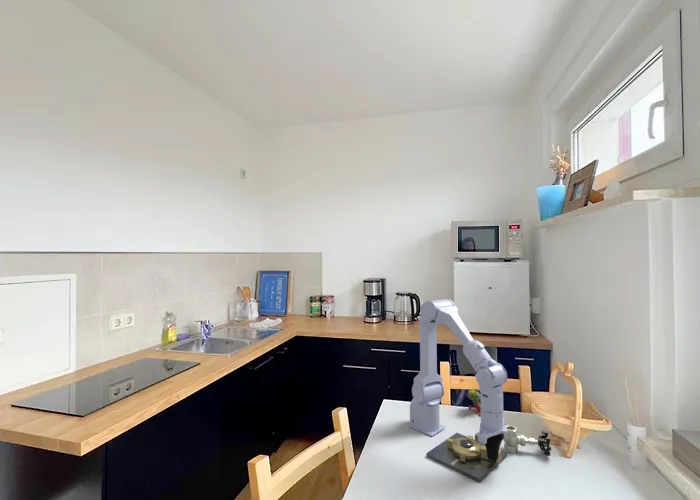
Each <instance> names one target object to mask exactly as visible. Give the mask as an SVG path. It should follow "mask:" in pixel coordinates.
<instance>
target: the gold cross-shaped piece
mask: <svg viewBox="0 0 700 500" xmlns="http://www.w3.org/2000/svg"><path fill="white" fill-rule="evenodd" d="M447 439H448V440H447ZM447 439H446V440H447V448H449V449H452V451H453V453H454V454H455V455H456V456H458V457H460V461H463V462H465V461H466V460H476V459H479V458H480V457H481V458H484V459H487V460H489V459H488V457H487V451H486V446H483V445H482V447H481V445H480V444H479V443H478V442H477V441H475V439H474V436H473V435H467V438H457V439H454V440H453V439H450V437H448V438H447ZM473 439H474V440H473ZM491 461H492V460H491ZM496 462H498V463H500V462H501V449H499V452H498V459H497V461H496ZM501 463H502V462H501ZM501 463H500V464H501Z"/></svg>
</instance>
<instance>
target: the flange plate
mask: <svg viewBox="0 0 700 500" xmlns="http://www.w3.org/2000/svg"><path fill="white" fill-rule="evenodd" d="M478 433H479V431H478V432H476V433H475V434H474V438H473V440H475V441H477V442H478ZM467 437H468V435H467V436H466V435H465V434H464V435H463V434H461V433H458V432H455V433H454V434H453V435H451V436H449V438H450V439H453V440H454V439H457V438H467ZM447 440H448V438H447V439H445V440H444V441H442V442H440V443H439V444H438V445H436V446H435V447H433V448H432V449H431V450H429V451H428V452H426V454H425V455H426V458H428V459H430V460H432V461H434V462H436V463H438V464H440V465H442V466H444V467H447V468H449V469H450V470H452V471H454V472H456V473H459V474H461V475H463V476H465V477H467V478H469V479H471V480H473V481H474V482H477V483H479V484H480V483H482V481H484V479H485V478H487V476H488V475H489V474H491V473H492V471H494V470H495V469H496V468H497V467H498V466H499V465H500V464H501V463H502V462H503V461H504V460H506V458H507V457H508V452H507V451H504V450H501V449H500V450H501V462H500V463H498V462H494V461H491V460H487V459H484V458H481V457H480V458H479V459H476V460H466V461H465V462H463V461H460V457H458V456H456V455H455V454H454V453H453V451H452V449H449V448H447ZM478 443H479V444H480V445H481V447H482V445H483V446H485V444H483V443H480V442H478Z"/></svg>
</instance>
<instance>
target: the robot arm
mask: <svg viewBox="0 0 700 500" xmlns="http://www.w3.org/2000/svg"><path fill="white" fill-rule="evenodd" d="M440 324H441V325H445V326H447V327H448V328H449V329H450V330H451V332H452V334H453V335H455V337H456V338H457V339H458V341H459V343H461V345H462V346H463V347H462V353H463V354H464V356H465V357H466V359H467V360H468V362H469V364H471V367H472V368H473V369H474V371H475V372H476V373H475V374H474V375H475V380H476V382H477V384H478V391H479V393H480V394H481V410H480V415H481V416H480V423H479V431H478V432H479V433H478V442H480V443H483V444H485V446H486V451H487V457H488V459H489V460H492V461H494V462H496V461H497V459H498V452H499V450H500V447H501V444H502V442H503V441H504V440H503V438H504V434H507V433H508V429H507V428H504V427H505V426H506V417H504V384H505V383H507V381H508V372H507V370H506V368H505V367H504V366H503V365H502V363H499V362H497V361H496V360H494V359H493V358H492V357H491V355H490V354H489V353H488V351H487V349H485V346H484V344H483V343H481V341H479V340H476V339H473V337H472V335H471V334H470V332H469V330H468V328H467V327H466V325H465V323H464V322H463V320H462V318H461V317H460V315H459V308H458V307H457V306H456V304H455V302H454V301H453V300H452V299H450V298H445V299H436V300H426V301H424V302H423V303H422V304H421V305H420V317H419V360H420V361H419V363H420V365H419V366H420V367H419V369H420V371H419V373H418V374H416V376H415V377H414V378H413V384H412V387H411V393H412V397H413V398H412V400H411V402H410V405H409V424H408V427H410V428H412V429H414V430H416V431H418V432H421V433H423V434H425V435H427V436H430V437H433V436H435V435H436V434H438V433H439V432H441V431H443V430H445V429H446V426H444V425H442V424H440V403H441V401H442V398H443V397H444V396H445V387H444V383H443V377H442V376H440V375H439V374H438V365H437V364H438V362H437V361H438V356H437V351H438V350H437V348H438V347H437V342H438V341H437V338H438V337H437V327H438V326H439V325H440Z"/></svg>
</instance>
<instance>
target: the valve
mask: <svg viewBox="0 0 700 500" xmlns="http://www.w3.org/2000/svg"><path fill="white" fill-rule="evenodd" d="M504 428H507V429H508V433H507V434H504V433H503V434H504V438H503V440H502V441H503V442H504V443H503V448H504V450H505V452H507V453H510V454H516V453H518V451H519V445H520V446H521V447H525V446H526V445H531V446H535V445H537V446H538V447H539V449H540V450H541V451H543V454H545V456H546V457H551V452H550V451H552V447H551V445H550V443H551V438H550V437H548V436H549V433H548V431H545V430H541V434H542V435H541V434H540V435H539V436H538V438H537V439H535V438H534V437H533V438H532V437H525V434H518V433H519V431H518V427H515V425H511V424H507V425H506V424H505V425H504Z"/></svg>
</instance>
